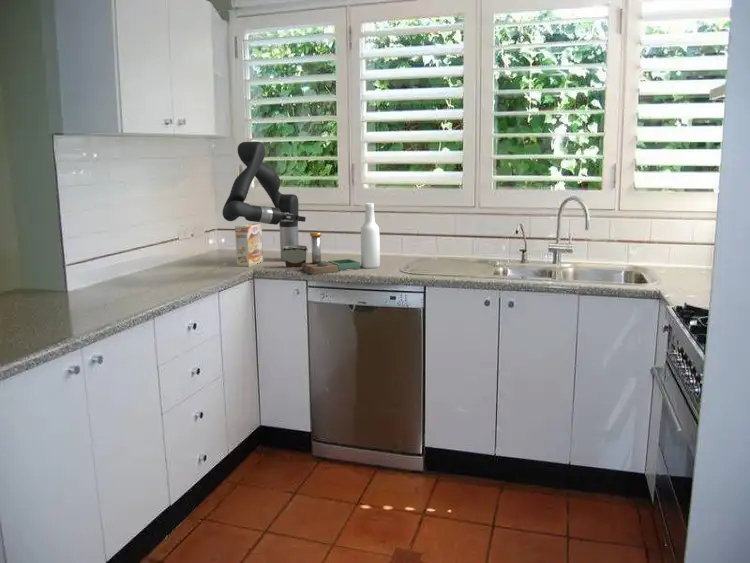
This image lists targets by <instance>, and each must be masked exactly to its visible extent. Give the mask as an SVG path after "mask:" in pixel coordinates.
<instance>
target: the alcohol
mask: <svg viewBox="0 0 750 563" xmlns="http://www.w3.org/2000/svg"><path fill="white" fill-rule="evenodd" d="M374 204H375V203H374V202H367V203H365V204H364V205H365V214H364V215H365V216H364V223H363V224H362V226H361V227H360V260H361V261H360V266H361V268H364V269H376V268H377V269H378V268H379V267H380V265H381V254H380V253H381V249H380V247H381V246H380V245H381V244H380V242H381V241H380V227H379V225H378V224H377V223H376V218H375V205H374Z"/></svg>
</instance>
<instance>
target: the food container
mask: <svg viewBox="0 0 750 563" xmlns="http://www.w3.org/2000/svg"><path fill="white" fill-rule="evenodd" d="M282 251H284V258H285V261H284V263H285V268H286V269H288V268H287V267H295V268H294V269H301V268H300V267H302V266H301V263H307V252H309V248H308V246H306V245H300V244H299V245H293V246H285V247H283V249H282ZM297 267H298V268H297Z"/></svg>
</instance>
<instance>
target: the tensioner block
mask: <svg viewBox="0 0 750 563" xmlns="http://www.w3.org/2000/svg"><path fill="white" fill-rule="evenodd" d="M301 266H302V268H301V271H303V272H306V273H308V274H311V275H323V274H332V273H331V272H335V273H339V271H338V266H337V265H335V264H332V263H329V262H328V261H326V260H325V261H324V260H323V261H322V260H321V263H318V264H316V265H313V264H312V261H311V262H306V263H301Z"/></svg>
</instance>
